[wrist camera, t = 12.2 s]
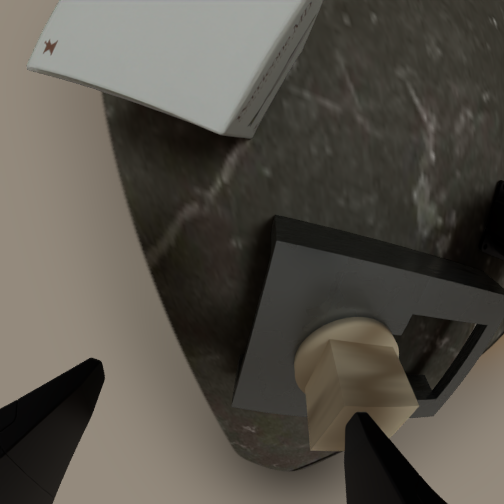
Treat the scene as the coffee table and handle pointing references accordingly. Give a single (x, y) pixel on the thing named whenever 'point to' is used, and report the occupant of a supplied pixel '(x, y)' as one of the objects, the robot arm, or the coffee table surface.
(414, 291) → the keyhole plate
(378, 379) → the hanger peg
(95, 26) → the supplement box
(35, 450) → the robot arm
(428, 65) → the coffee table surface
